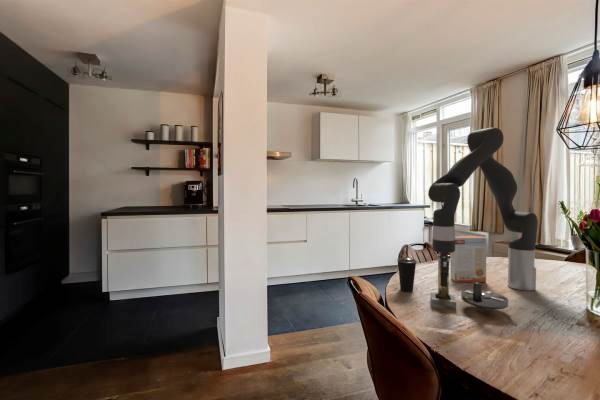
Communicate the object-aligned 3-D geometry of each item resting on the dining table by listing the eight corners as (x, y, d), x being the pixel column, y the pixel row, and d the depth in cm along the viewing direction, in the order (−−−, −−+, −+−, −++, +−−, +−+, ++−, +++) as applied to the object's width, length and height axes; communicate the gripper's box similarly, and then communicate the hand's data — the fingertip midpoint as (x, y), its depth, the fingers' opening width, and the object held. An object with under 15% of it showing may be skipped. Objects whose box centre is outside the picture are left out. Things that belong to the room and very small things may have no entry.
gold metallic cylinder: (448, 294, 110) (448, 264, 110) (449, 297, 107) (449, 267, 106) (437, 292, 111) (437, 263, 111) (438, 296, 108) (438, 266, 108)
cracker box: (479, 278, 143) (480, 235, 142) (486, 282, 137) (487, 237, 136) (449, 278, 144) (450, 235, 143) (454, 282, 138) (455, 237, 137)
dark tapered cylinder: (407, 296, 120) (407, 247, 119) (393, 291, 127) (393, 244, 126) (420, 293, 124) (420, 245, 123) (406, 288, 130) (406, 242, 130)
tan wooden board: (499, 307, 109) (499, 297, 108) (510, 325, 95) (510, 313, 95) (430, 299, 117) (430, 289, 117) (431, 314, 103) (431, 303, 103)
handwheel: (470, 291, 114) (471, 271, 114) (514, 301, 103) (514, 280, 103) (454, 300, 105) (454, 279, 105) (499, 313, 94) (500, 289, 94)
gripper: (457, 242, 100) (457, 292, 101) (453, 235, 113) (453, 279, 114) (433, 240, 103) (433, 289, 104) (431, 234, 116) (431, 277, 117)
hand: (443, 284), depth 109 cm, fingers closed on gold metallic cylinder, 3 cm apart
